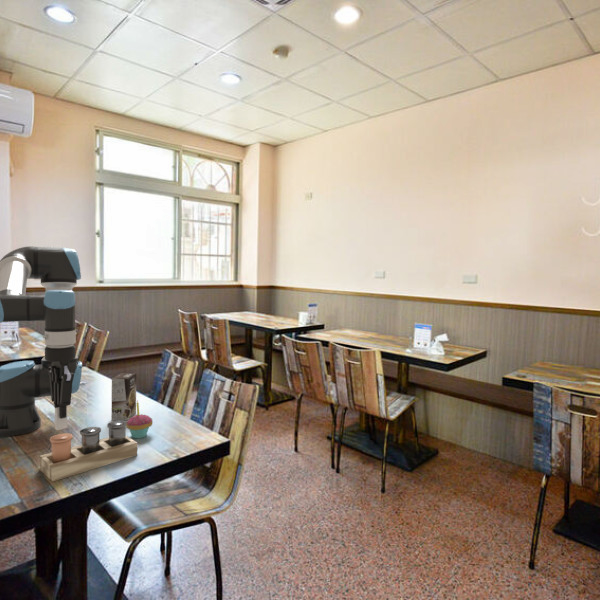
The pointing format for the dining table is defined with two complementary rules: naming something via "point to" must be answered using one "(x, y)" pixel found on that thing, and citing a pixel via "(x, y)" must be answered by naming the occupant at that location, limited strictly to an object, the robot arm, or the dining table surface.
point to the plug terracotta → (61, 447)
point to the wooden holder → (87, 459)
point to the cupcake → (139, 424)
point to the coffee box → (123, 396)
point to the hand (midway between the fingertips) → (61, 428)
